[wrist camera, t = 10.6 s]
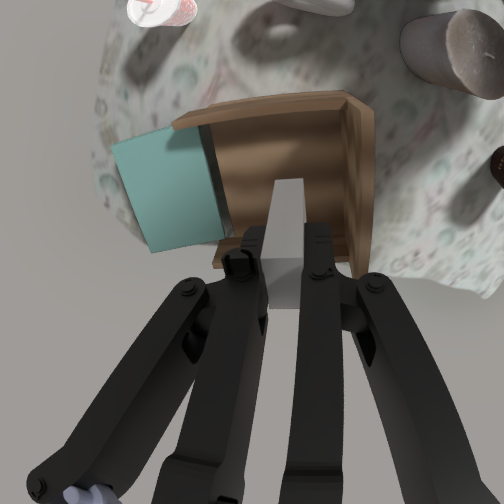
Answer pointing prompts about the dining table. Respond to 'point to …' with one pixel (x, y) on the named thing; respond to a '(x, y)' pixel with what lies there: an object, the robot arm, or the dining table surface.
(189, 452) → the robot arm
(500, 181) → the coffee mug
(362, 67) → the dining table surface
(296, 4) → the donut
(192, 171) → the panel
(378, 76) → the dining table surface
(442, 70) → the pillar candle
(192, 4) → the beverage cup
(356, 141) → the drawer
